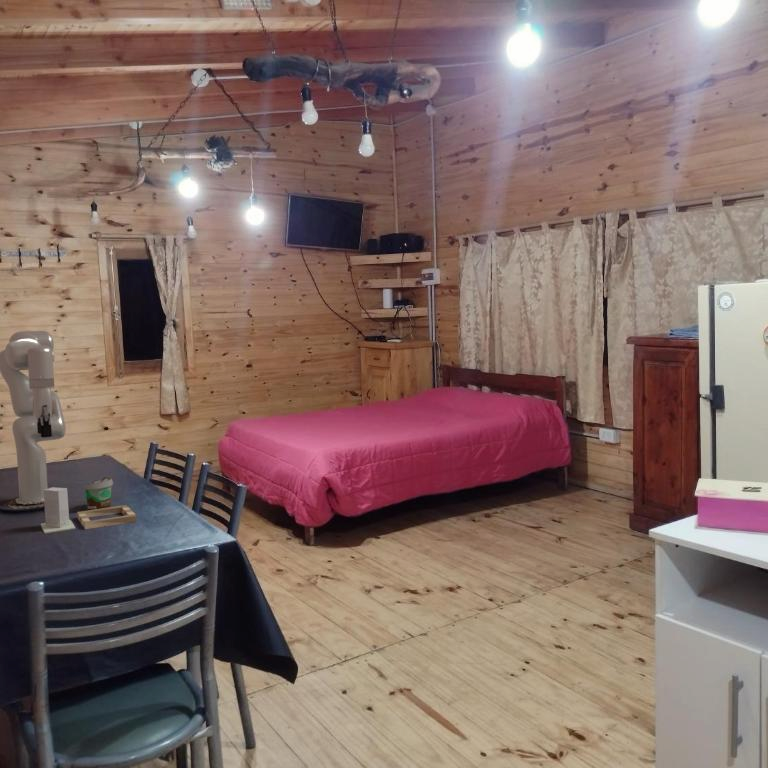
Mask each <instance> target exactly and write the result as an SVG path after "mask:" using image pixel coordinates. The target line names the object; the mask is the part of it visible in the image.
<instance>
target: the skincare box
mask: <svg viewBox="0 0 768 768" xmlns="http://www.w3.org/2000/svg"><path fill="white" fill-rule="evenodd" d="M68 494H69V493H68V488H67V487H48V489H45V490H44V503H43V504H44V514H45V515H44V519H45V523H46V526H49V527H63V526H66V525H68V524H69V520H70V514H69V513H70V510H69V497H68Z"/></svg>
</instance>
